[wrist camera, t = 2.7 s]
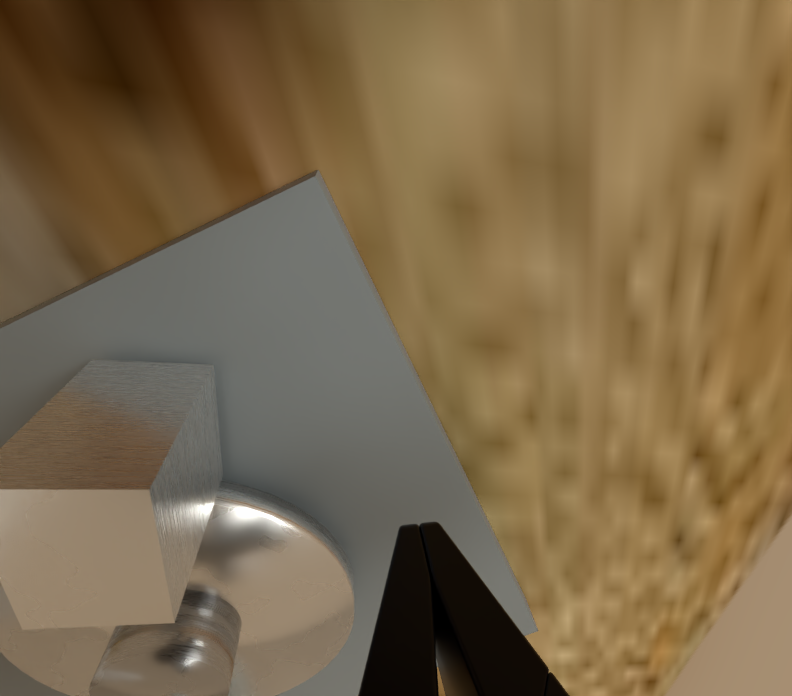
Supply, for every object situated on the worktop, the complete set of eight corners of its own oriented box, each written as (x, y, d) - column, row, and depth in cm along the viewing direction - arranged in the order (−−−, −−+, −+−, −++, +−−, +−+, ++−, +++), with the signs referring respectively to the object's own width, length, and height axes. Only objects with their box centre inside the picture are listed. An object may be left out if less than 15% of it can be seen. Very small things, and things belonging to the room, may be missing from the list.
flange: (178, 319, 11) (88, 430, 7) (408, 620, 18) (427, 759, 14) (-202, 495, 12) (-464, 678, 8) (156, 714, 19) (109, 866, 15)
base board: (318, 169, 12) (299, 211, 6) (526, 599, 22) (585, 753, 17) (-313, 475, 14) (-729, 703, 8) (150, 737, 24) (95, 913, 19)
